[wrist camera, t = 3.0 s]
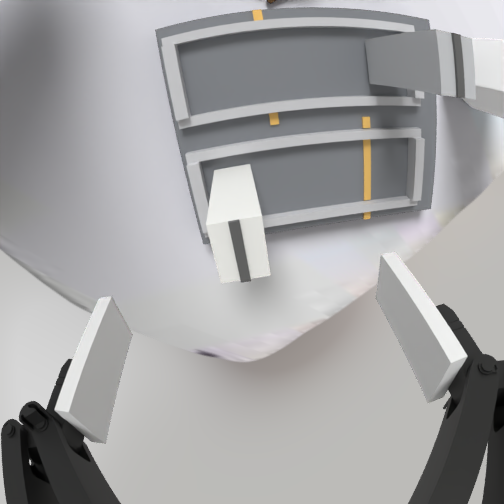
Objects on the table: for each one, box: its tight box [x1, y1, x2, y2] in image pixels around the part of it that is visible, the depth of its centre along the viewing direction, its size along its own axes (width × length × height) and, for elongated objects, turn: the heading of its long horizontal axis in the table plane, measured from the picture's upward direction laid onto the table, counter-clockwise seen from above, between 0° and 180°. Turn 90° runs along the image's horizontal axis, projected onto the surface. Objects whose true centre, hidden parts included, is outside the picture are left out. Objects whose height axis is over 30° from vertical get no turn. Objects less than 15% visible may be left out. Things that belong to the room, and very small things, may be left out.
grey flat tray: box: [155, 7, 437, 244], centre depth 23 cm, size 24×20×3 cm
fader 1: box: [206, 164, 271, 284], centre depth 21 cm, size 3×4×10 cm
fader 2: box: [365, 29, 476, 100], centre depth 15 cm, size 3×4×10 cm
